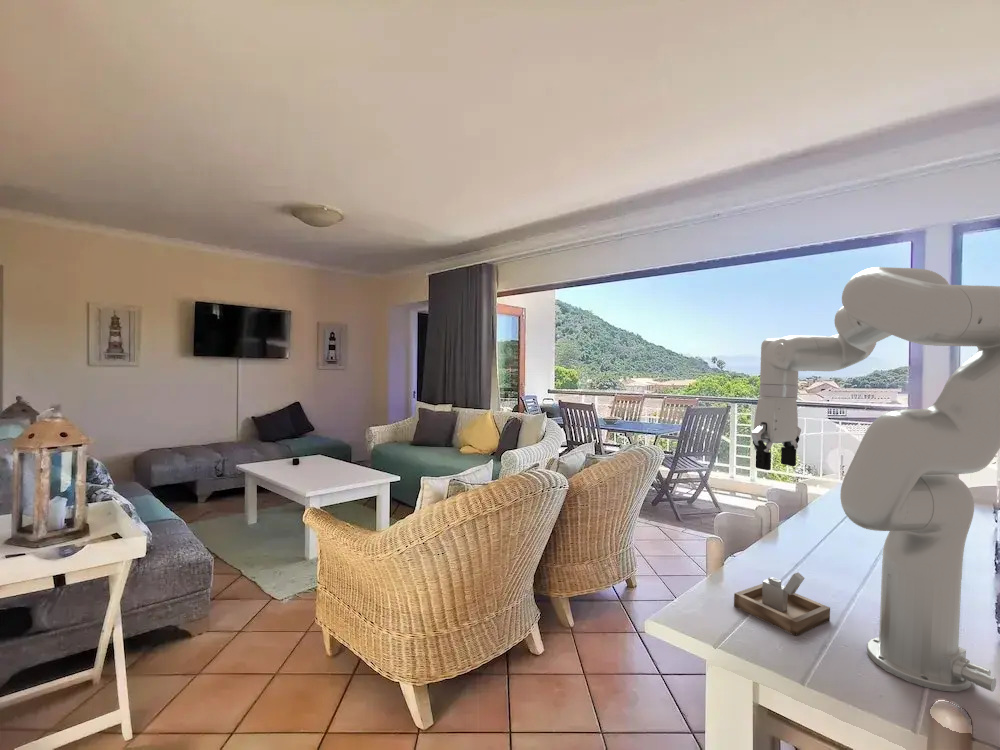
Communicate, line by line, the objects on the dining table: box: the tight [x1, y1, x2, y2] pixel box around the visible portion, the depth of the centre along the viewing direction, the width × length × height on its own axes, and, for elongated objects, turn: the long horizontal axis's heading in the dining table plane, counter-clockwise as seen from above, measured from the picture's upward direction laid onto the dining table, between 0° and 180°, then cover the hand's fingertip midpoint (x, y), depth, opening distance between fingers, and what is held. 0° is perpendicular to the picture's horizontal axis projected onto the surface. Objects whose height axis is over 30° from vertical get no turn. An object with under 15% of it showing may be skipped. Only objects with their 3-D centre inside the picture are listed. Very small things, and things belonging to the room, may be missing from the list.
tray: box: [733, 583, 831, 637], centre depth 93 cm, size 12×11×2 cm
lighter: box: [762, 572, 806, 612], centre depth 93 cm, size 7×2×8 cm, turn 30°
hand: (775, 466), depth 112 cm, fingers open, 9 cm apart
